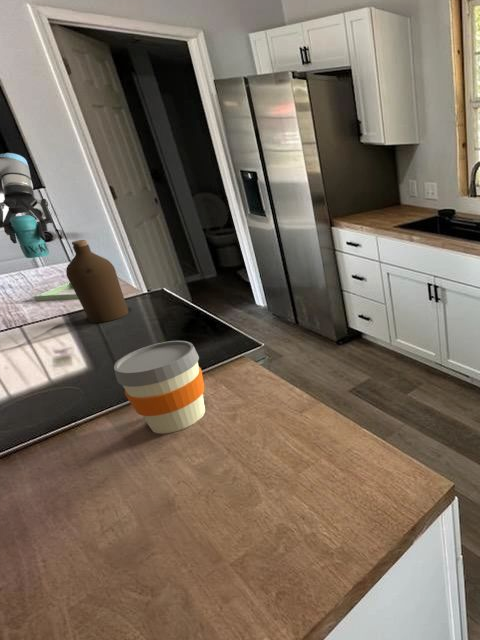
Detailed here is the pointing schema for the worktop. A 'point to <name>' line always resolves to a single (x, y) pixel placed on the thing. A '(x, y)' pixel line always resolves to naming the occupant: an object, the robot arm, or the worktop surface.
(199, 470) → the worktop surface
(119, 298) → the brown jug bottle
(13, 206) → the robot arm
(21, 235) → the beverage bottle
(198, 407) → the reusable coffee cup
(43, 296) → the back pad
